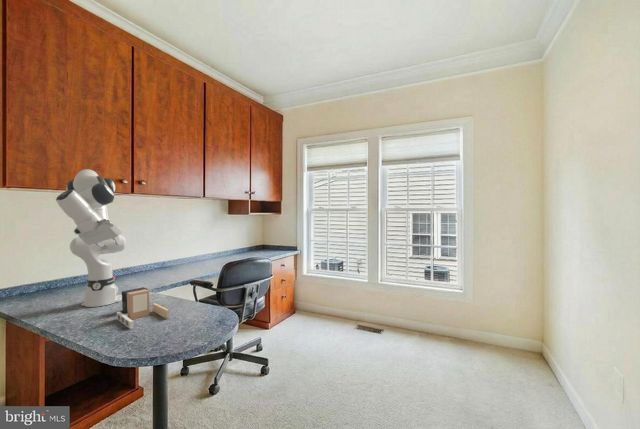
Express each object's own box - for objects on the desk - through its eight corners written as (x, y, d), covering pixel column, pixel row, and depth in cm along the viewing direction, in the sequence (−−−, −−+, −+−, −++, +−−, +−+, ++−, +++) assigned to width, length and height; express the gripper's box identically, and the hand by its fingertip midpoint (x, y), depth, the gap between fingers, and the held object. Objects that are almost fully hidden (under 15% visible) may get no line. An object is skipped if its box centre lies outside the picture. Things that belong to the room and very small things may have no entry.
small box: (144, 305, 158) (143, 286, 158) (149, 308, 154) (148, 288, 154) (121, 311, 150) (121, 291, 150) (126, 313, 146) (125, 292, 146)
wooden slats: (116, 319, 138) (115, 310, 138) (153, 310, 151) (153, 302, 151) (129, 329, 125) (129, 320, 125) (169, 318, 137) (169, 309, 137)
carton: (127, 317, 140) (126, 292, 140) (145, 312, 146) (145, 289, 146) (131, 319, 137) (130, 294, 137) (149, 315, 143) (149, 290, 143)
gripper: (112, 214, 129) (132, 237, 136) (82, 224, 136) (103, 247, 142) (101, 221, 124) (123, 246, 130) (70, 232, 131) (93, 255, 137)
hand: (112, 246), depth 136 cm, fingers open, 8 cm apart
